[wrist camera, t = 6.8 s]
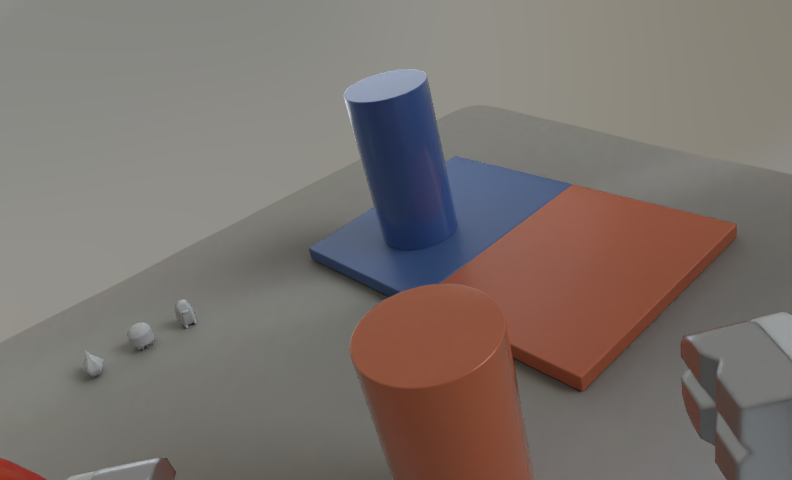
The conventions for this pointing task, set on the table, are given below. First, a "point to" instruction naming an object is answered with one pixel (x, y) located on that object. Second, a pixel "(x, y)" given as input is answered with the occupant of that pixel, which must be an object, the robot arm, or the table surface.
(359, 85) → the blue canister
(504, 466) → the terracotta canister
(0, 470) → the apple
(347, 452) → the table surface
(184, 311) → the game pieces
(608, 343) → the board
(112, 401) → the table surface
